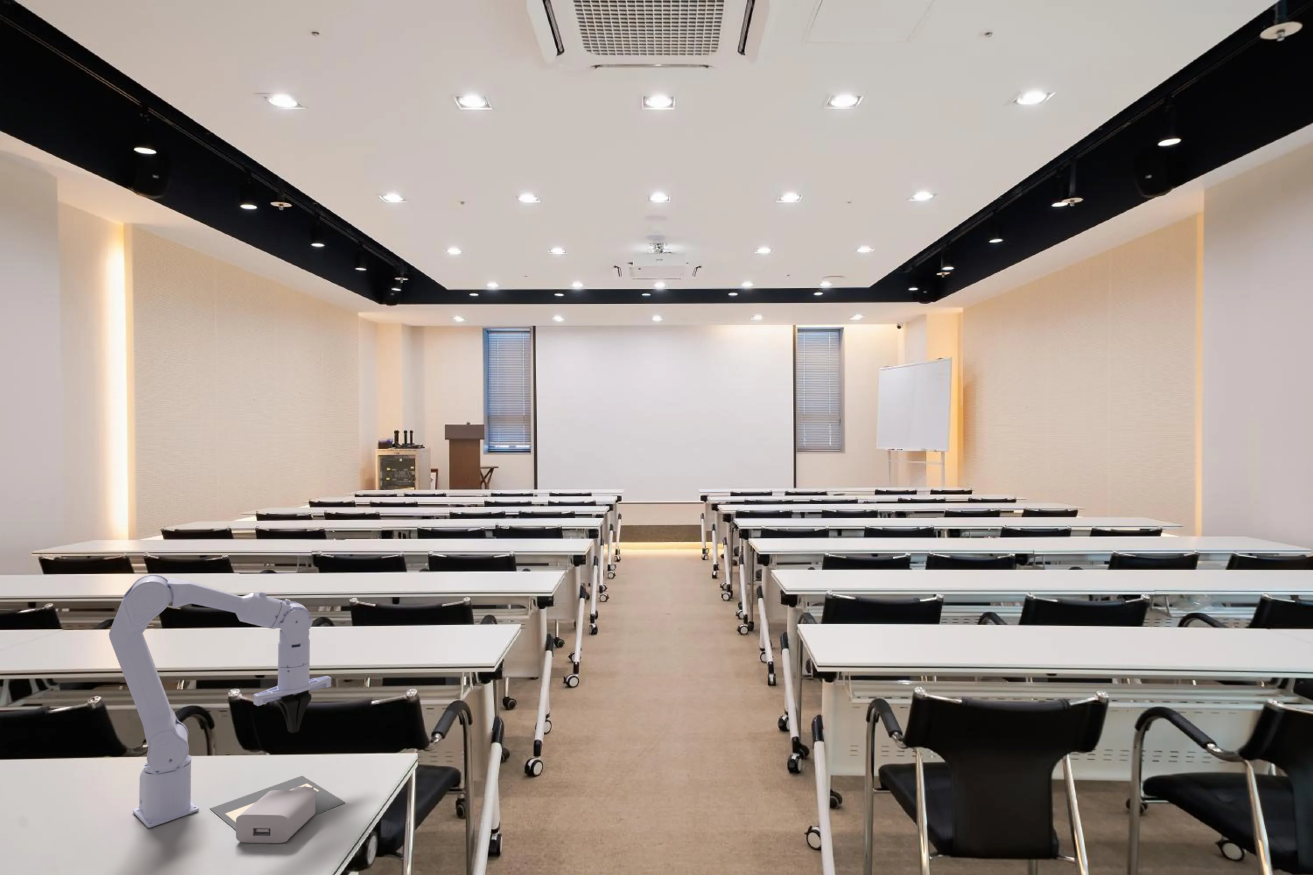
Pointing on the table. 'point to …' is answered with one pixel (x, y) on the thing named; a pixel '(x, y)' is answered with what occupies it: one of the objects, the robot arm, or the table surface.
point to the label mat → (239, 805)
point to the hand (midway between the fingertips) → (293, 730)
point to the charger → (276, 815)
